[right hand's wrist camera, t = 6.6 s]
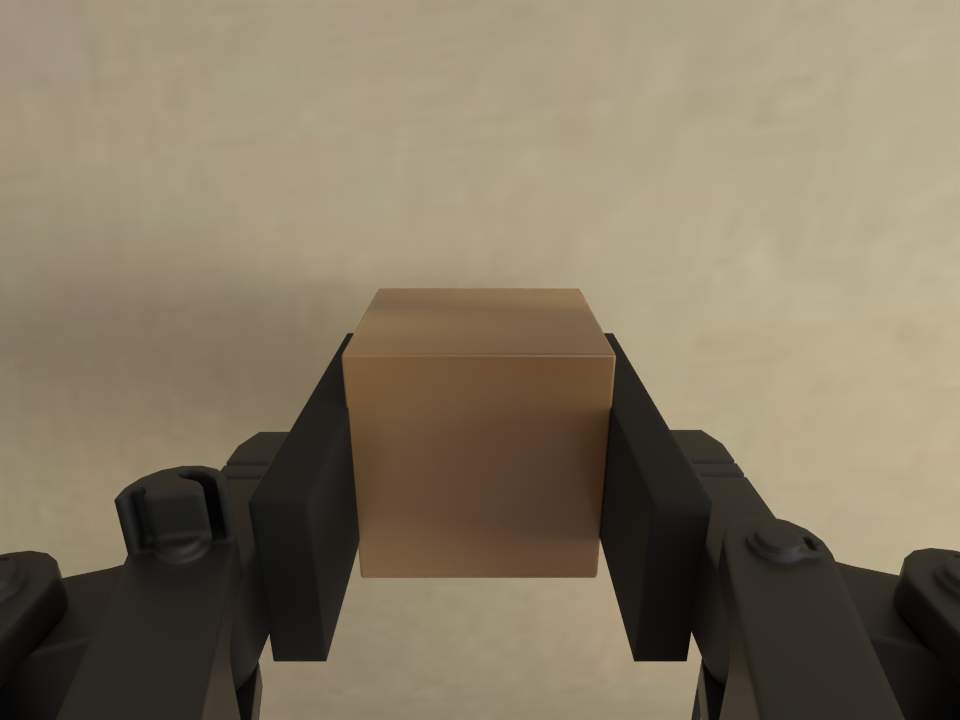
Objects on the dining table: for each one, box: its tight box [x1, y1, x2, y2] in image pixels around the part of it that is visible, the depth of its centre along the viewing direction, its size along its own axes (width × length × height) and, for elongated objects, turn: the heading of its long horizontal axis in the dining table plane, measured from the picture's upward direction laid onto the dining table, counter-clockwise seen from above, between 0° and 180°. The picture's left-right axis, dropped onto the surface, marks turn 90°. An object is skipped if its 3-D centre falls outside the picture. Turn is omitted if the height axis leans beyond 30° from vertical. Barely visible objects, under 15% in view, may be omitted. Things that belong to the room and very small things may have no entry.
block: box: [342, 289, 616, 578], centre depth 13 cm, size 4×5×4 cm
